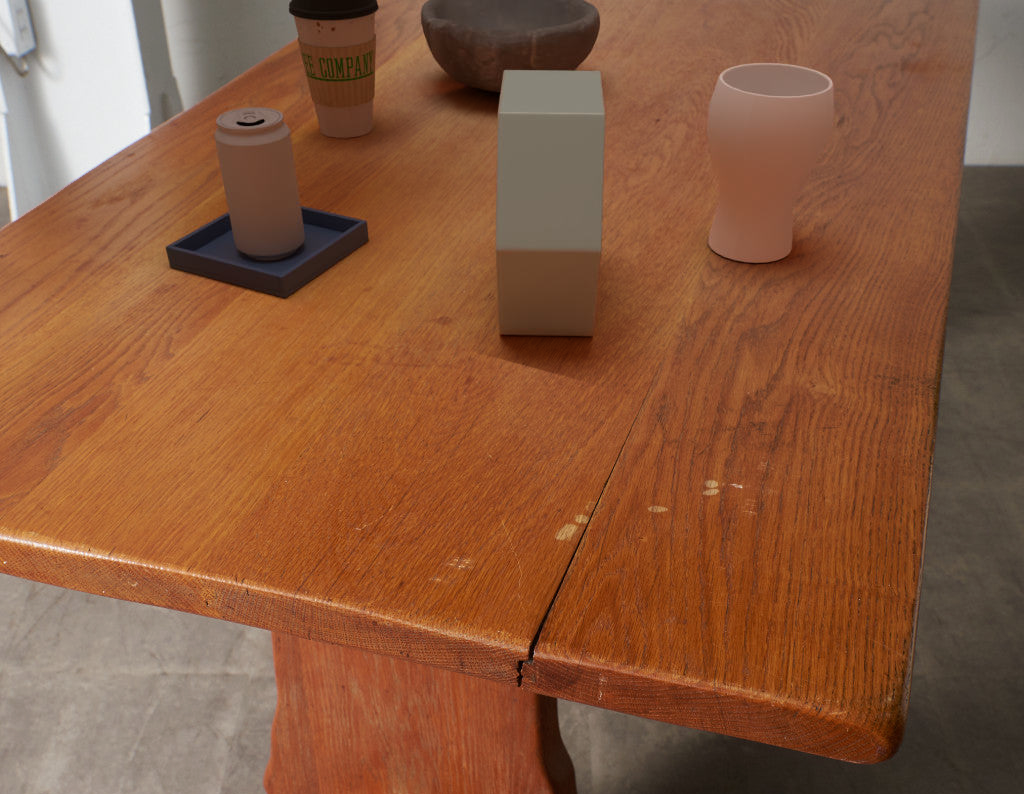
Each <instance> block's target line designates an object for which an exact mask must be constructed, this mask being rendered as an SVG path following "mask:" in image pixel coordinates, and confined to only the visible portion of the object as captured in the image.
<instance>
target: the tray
mask: <svg viewBox="0 0 1024 794" xmlns="http://www.w3.org/2000/svg"><path fill="white" fill-rule="evenodd" d="M301 212H302V219H303V226H304V233H305V241H304V243H303V244H302V245H301V246H300V247H299V248H298V249H297V251H296V252H294V253H293V254H292V255H290V256H287V257H285V258H281V259H276V260H258V259H254V258H251V257H249V256H247V255H246V254H245V253H242V252H241V251H239V250H238V249H237V248H236V246H235V242H234V237H233V231H232V226H231V221H230V216H229V211H227V212H225V213H224V214H222V215H220V216H218V217H216V218H214V219H213V220H210V221H209V222H207V223H205V224H204V225H202V226H200V227H199V228H197V229H195V230H193V231H191V232H189V233H188V234H186V235H184V236H182V237H180V238H179V239H177V240H175V241H173V242H172V243H170V244H168V245H166V246H165V251H166V257H167V260H168V264H169V267H170V268H171V269H175V270H178V271H183V272H186V273H190V274H194V275H198V276H201V277H205V278H207V279H208V278H209V279H213V280H216V281H220V282H224V283H228V284H232V285H235V286H238V287H242V288H246V289H248V290H249V289H250V290H253V291H257V292H261V293H264V294H268V295H271V296H275V297H278V298H279V297H280V298H284V299H287V298H288V297H290V296H291V295H292V294H294V293H295V292H297V291H298V290H300V289H301V288H303V287H304V286H305V285H307V284H308V283H309V282H312V280H314V279H316V278H317V277H318V276H320V275H321V274H323V273H324V272H325V271H327V270H328V269H330V268H332V267H333V266H335V265H336V264H337V263H339V262H340V261H342V260H343V259H344V258H346V257H347V256H349V255H350V254H352V253H353V252H355V251H356V250H357V249H359V248H360V247H362V246H363V245H365V244H366V243H368V242H369V240H370V238H369V237H370V236H369V228H368V221H367V220H365V219H360V218H356V217H351V216H347V215H344V214H340V213H339V214H338V213H335V212H330V211H325V210H321V209H317V208H313V207H308V206H304V205H301Z"/></svg>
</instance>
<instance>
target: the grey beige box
mask: <svg viewBox="0 0 1024 794" xmlns="http://www.w3.org/2000/svg"><path fill="white" fill-rule="evenodd" d="M499 93H500V94H499V100H498V109H497V126H496V128H497V131H496V133H497V135H496V187H495V188H496V189H495V190H496V191H495V193H496V195H495V245H494V246H495V247H494V248H495V249H494V250H495V271H496V272H495V273H496V295H497V320H498V334H499V335H501V336H549V337H550V336H551V337H552V336H553V337H554V336H555V337H559V336H560V337H593V336H594V335H595V325H596V316H597V315H596V314H597V305H598V304H597V303H598V294H599V292H598V291H599V283H600V282H599V281H600V270H601V263H602V261H601V260H602V254H603V253H602V251H603V221H604V220H603V219H604V183H605V182H604V181H605V146H606V145H605V144H606V107H605V100H604V89H603V81H602V73H601V70H574V71H558V70H504V72H503V79H502V86H501V92H499Z"/></svg>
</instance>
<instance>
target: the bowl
mask: <svg viewBox="0 0 1024 794" xmlns="http://www.w3.org/2000/svg"><path fill="white" fill-rule="evenodd" d="M420 22H421V27H422V32H423V35H424V38H425V42H426V45H427V46H428V49H429V51H430V53H431V55H432V58H433V59H434V60H435V62H436V63H437V65H438V66H439V67H440V68H441V69H443V71H444V72H445V73H446V74H447V75H448V76H449V77H450V78H452V79H453V80H455V81H456V82H458V83H460V84H462V85H464V86H467V87H470V88H474V89H479V90H481V91H487V92H492V93H501V86H502V79H503V72H504V70H558V71H576V69H577V68H579V67H580V65H582V64H583V63H584V61H585V60H586V59H587V58H588V57H589V55H590V54H591V52H592V51H593V49H594V46H595V45H596V41H597V39H598V36H599V33H600V28H601V16H600V12H599V10H598V8H597V7H596V6H595V5H594V4H592V3H590V2H588V1H586V0H427V1H425V2H424V4H423V5H422V7H421V11H420Z"/></svg>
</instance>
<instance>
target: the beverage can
mask: <svg viewBox="0 0 1024 794" xmlns="http://www.w3.org/2000/svg"><path fill="white" fill-rule="evenodd" d="M284 119H285V118H284V114H283V113H282V111H280V110H278V109H275V108H271V107H264V106H263V107H262V106H261V107H260V106H251V107H239V108H236V109H231V110H228V111H225V112H223V113H221V114H220V115H218V116H217V117H216V119H215V123H216V126H217V128H216V129H215V132H214V135H213V136H214V141H215V147H216V151H217V157H218V163H219V167H220V174H221V179H222V183H223V189H224V195H225V199H226V200H225V201H226V203H227V204H226V205H227V211H228V212H229V216H230V221H231V226H232V231H233V237H234V242H235V246H236V248H237V249H238V250H239V251H241V252H242V253H245V254H246V255H247V256H249V257H251V258H254V259H258V260H276V259H281V258H285V257H287V256H290V255H292V254H293V253H294V252H296V251H297V249H298V248H299V247H300V246H301V245H302V244H303V243H304V241H305V233H304V226H303V219H302V212H301V206H302V205H301V199H300V192H299V191H300V190H299V185H298V177H297V170H296V164H295V163H296V162H295V157H294V150H293V143H292V136H291V130H290V127H289V126H288V125H287V123H285V121H284Z"/></svg>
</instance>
